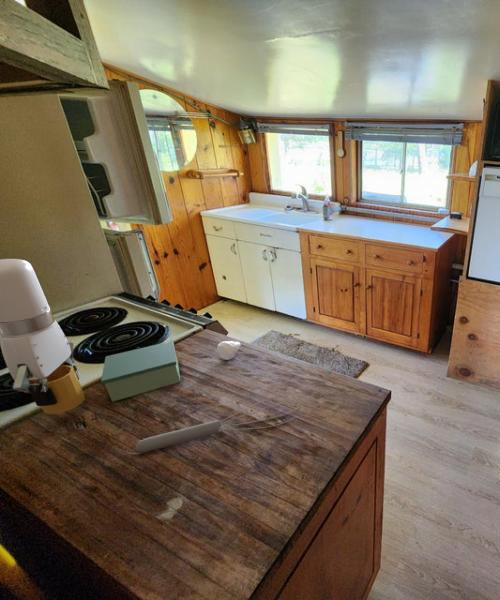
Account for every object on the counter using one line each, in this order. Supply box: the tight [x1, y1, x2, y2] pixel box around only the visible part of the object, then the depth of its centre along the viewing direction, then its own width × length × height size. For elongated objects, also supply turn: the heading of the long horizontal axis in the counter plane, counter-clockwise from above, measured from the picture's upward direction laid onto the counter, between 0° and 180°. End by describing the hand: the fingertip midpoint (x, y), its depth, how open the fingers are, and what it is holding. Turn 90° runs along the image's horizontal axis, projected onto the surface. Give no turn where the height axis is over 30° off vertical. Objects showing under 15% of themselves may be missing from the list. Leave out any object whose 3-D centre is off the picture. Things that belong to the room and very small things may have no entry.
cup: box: [33, 365, 86, 415], centre depth 71 cm, size 7×7×8 cm
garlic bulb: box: [216, 340, 242, 361], centre depth 96 cm, size 6×6×5 cm
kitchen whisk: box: [125, 395, 301, 455], centre depth 70 cm, size 6×34×6 cm, turn 111°
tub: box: [100, 340, 181, 402], centre depth 84 cm, size 15×12×7 cm
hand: (59, 392), depth 71 cm, fingers closed on cup, 6 cm apart
